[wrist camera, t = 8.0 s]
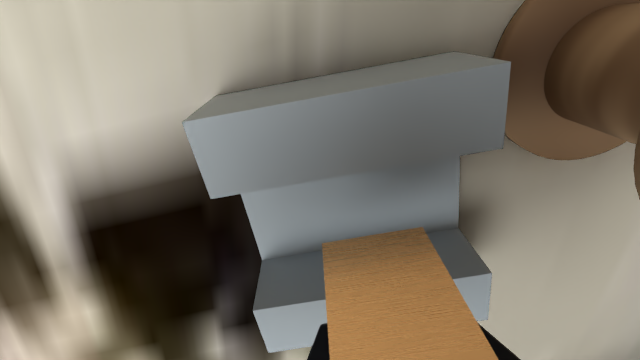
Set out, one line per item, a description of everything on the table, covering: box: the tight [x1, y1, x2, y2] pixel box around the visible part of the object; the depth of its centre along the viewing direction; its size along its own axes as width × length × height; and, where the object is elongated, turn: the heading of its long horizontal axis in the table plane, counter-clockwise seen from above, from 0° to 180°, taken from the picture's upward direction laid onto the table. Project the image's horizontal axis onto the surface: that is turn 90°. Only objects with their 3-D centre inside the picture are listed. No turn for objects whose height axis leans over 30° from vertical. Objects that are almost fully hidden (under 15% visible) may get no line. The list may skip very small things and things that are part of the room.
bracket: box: [182, 51, 511, 353], centre depth 14 cm, size 11×10×4 cm
